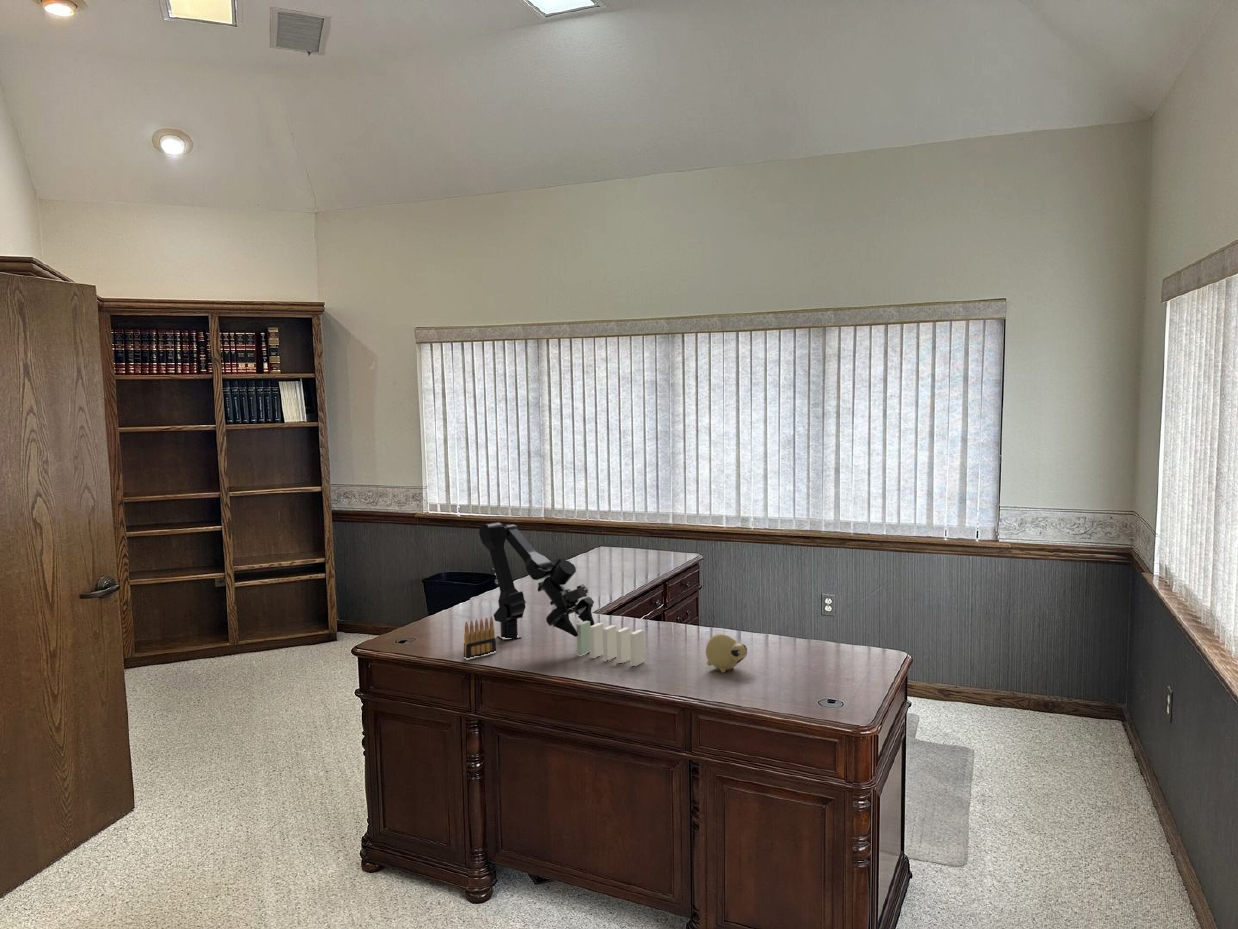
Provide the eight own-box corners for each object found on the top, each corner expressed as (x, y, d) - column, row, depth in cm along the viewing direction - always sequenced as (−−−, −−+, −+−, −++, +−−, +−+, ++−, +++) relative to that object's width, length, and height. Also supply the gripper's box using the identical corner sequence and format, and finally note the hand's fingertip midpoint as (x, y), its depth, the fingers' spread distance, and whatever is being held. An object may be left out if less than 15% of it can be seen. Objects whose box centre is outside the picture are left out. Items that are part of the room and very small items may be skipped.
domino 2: (590, 658, 267) (589, 626, 266) (599, 654, 271) (598, 622, 270) (594, 659, 266) (593, 627, 265) (603, 654, 270) (603, 623, 269)
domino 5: (630, 666, 258) (630, 633, 257) (639, 661, 262) (639, 629, 262) (635, 667, 257) (634, 634, 257) (644, 662, 262) (643, 630, 261)
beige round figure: (735, 678, 245) (735, 642, 244) (699, 671, 253) (699, 635, 252) (752, 669, 253) (752, 634, 252) (717, 662, 260) (717, 627, 260)
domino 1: (577, 655, 270) (576, 624, 269) (586, 651, 274) (586, 620, 273) (581, 656, 269) (580, 625, 268) (590, 652, 273) (590, 621, 272)
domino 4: (616, 663, 261) (616, 631, 260) (626, 659, 265) (625, 627, 264) (621, 664, 260) (620, 632, 259) (630, 660, 264) (629, 628, 263)
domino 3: (603, 661, 264) (602, 628, 263) (612, 656, 268) (612, 625, 267) (607, 661, 263) (607, 629, 262) (616, 657, 267) (616, 625, 266)
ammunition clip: (466, 660, 267) (465, 622, 266) (463, 659, 269) (462, 621, 268) (496, 653, 274) (495, 616, 273) (493, 652, 275) (492, 615, 274)
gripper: (552, 583, 264) (582, 624, 259) (588, 572, 279) (617, 610, 274) (533, 605, 269) (562, 645, 264) (569, 593, 284) (597, 631, 279)
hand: (586, 632), depth 270 cm, fingers open, 9 cm apart
